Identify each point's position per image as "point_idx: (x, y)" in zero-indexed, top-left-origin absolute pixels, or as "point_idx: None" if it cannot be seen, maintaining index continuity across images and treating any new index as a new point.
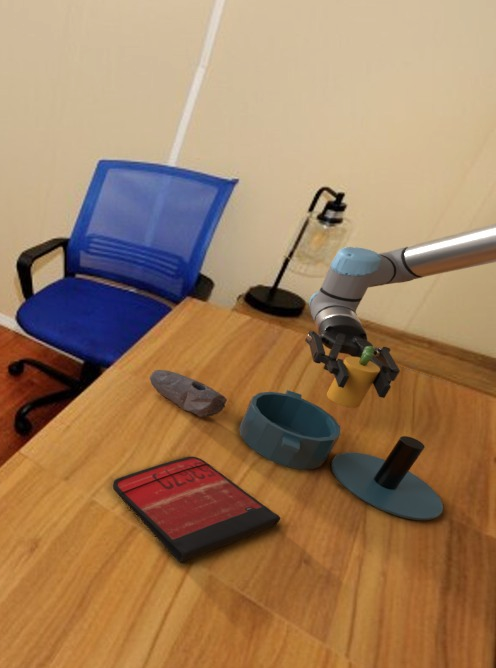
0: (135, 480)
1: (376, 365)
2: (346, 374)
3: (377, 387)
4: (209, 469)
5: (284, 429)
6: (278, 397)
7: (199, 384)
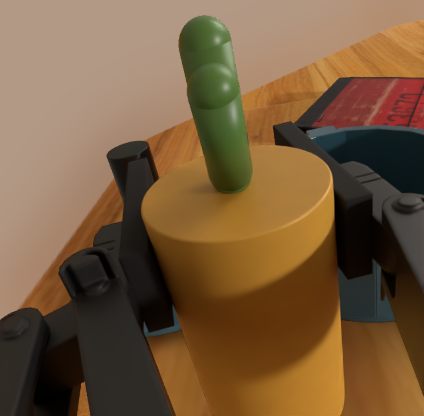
0: None
1: (153, 219)
2: (285, 129)
3: None
4: None
5: (347, 130)
6: None
7: None
